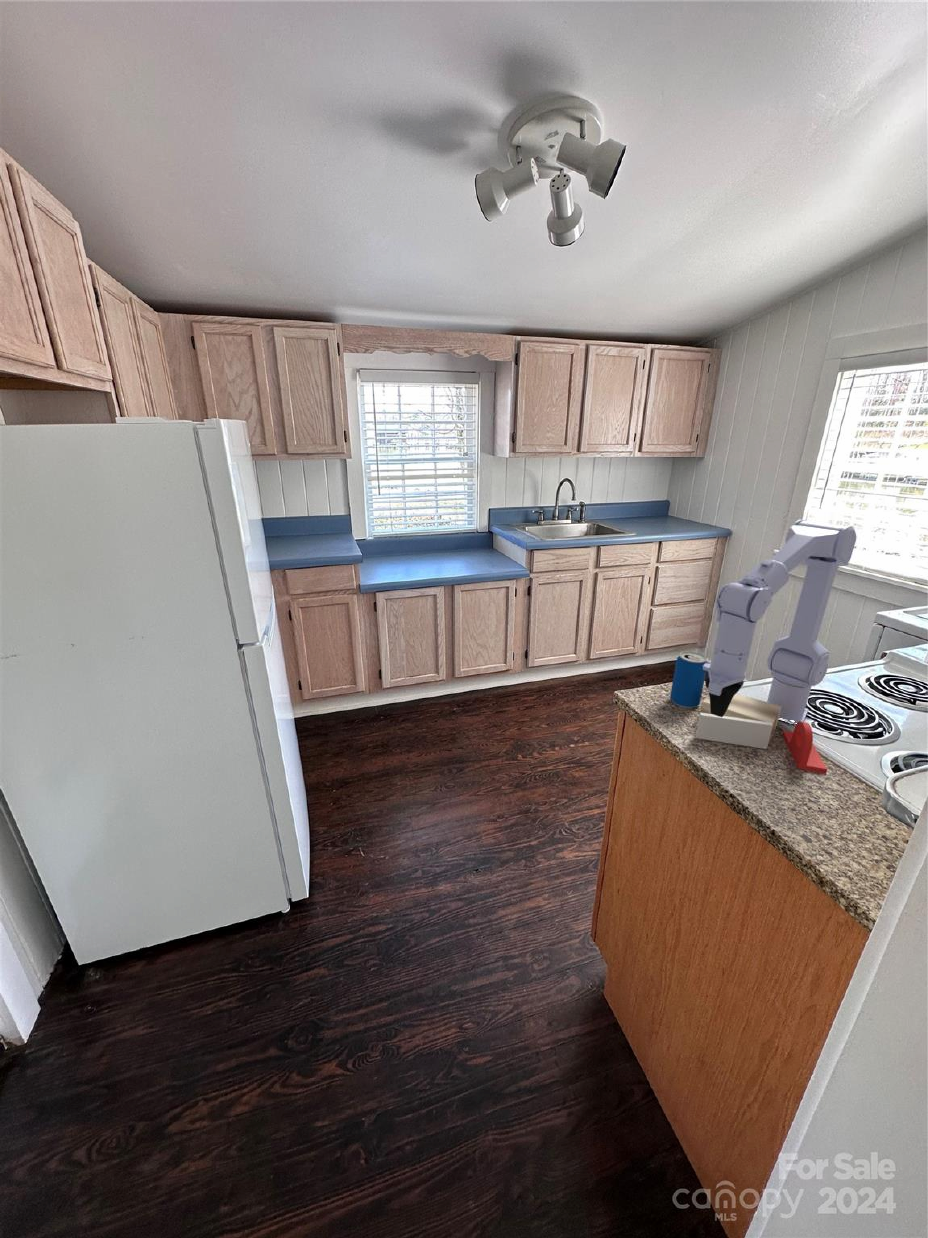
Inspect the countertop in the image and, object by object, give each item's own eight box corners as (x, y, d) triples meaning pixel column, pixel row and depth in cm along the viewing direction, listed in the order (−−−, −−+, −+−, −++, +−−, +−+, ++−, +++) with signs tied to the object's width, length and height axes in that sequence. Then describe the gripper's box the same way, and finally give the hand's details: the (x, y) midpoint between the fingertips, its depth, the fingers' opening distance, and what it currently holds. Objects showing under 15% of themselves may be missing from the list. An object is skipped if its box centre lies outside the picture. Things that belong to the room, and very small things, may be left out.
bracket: (825, 774, 92) (837, 738, 89) (798, 769, 93) (808, 733, 90) (806, 739, 102) (816, 706, 99) (781, 735, 104) (790, 702, 101)
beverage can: (678, 693, 120) (686, 648, 116) (704, 704, 115) (713, 657, 111) (664, 701, 116) (672, 655, 112) (690, 713, 111) (700, 665, 107)
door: (695, 735, 102) (700, 712, 100) (765, 746, 99) (771, 722, 97) (696, 738, 101) (701, 715, 99) (766, 749, 98) (772, 725, 96)
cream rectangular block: (710, 707, 114) (715, 686, 112) (775, 729, 105) (781, 706, 103) (698, 723, 107) (702, 701, 105) (766, 747, 99) (772, 724, 97)
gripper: (719, 632, 96) (707, 693, 101) (695, 655, 86) (682, 721, 91) (760, 641, 92) (744, 705, 97) (739, 667, 82) (723, 736, 86)
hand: (717, 714), depth 93 cm, fingers closed
